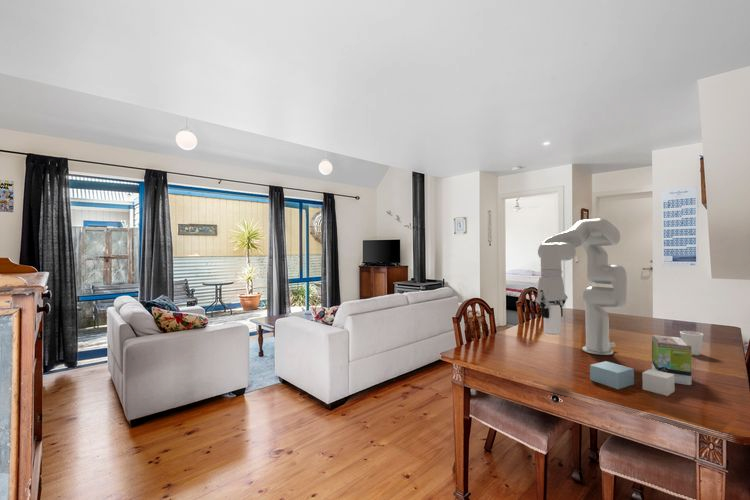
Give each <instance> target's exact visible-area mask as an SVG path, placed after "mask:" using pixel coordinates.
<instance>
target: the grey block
mask: <svg viewBox="0 0 750 500" xmlns="http://www.w3.org/2000/svg"><path fill="white" fill-rule="evenodd" d="M641 375H642V376H641V378H642V390H643V391H644V390H645V391H648V392H652V393H655V394H658V395H662V396H666V397H668V396H670V395H671V394H673V393H674V392H675V391H676V389H675V388H676V387H675V384H676V383H675V382H674V374H670V373H666V372H661V371H657V370H653V369H652V368H649V369H647V370H645V371H643V372H642V373H641Z"/></svg>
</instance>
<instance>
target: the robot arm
mask: <svg viewBox="0 0 750 500" xmlns="http://www.w3.org/2000/svg"><path fill="white" fill-rule="evenodd" d="M620 241H621V233H620V230H619V229H618V228H617V227H616V226H615V225H614V224H613V223H612V222H611V221H610V220H608V219H605V218H591V219H589V218H587V219H581V220H578V221H577V222H575V223H574V224H573V225H572V226H571V227H570V228H568V230H566V231H563V232H560V233H558V234H554V235H552V236H550V237H548V238H546V239H545V240H544V241H543V242H541V243H540V245H539V246H538V249H537V256H538V257H539V259H540V276H539V278H538V279H539V280H538V284H537V297H536V298H535V301H536V303H537V305H538V306H539V308H541V318H543V319H544V318H549V309H548V308H547V307H548V304H549V303H553V302H554V303H558V304H560V307H561V318H562V317H564V315H563V313H564V311H563V310H564V309H563V307H564V305H565V303H566V301H567V300H568V298H569V297H568V296H567V294H566V293H565V285H564V279H563V276H562V274H563V271H562V261H565V262H567V261H571V260H572V259H574V258H575V257H576V253H577V251H576V248H578V247H579V248H580V247H581V246H582V247H583V249H584V251H585V252H586V256H587V257H586V258H587V261H586V264H587V265H586V278H587V281H588V282H589V283H591V284H596V285H612V287H608V286H607V287H605V286H595V285H594V286H588V287H586V288H584V289H583V291H582V300H583V303H584V312H585V314H584V315H585V345H584V346H582V351H583V352H585V353H588V354H593V355H599V356H611V355H613V354H614V350H612V349H611V348H612V347H616V343H615V342H610V326H609V325H610V324H609V322H610V319H609V317H610V316H609V314H608V313H607V311H606V310H605V308H610V309H622V308H624V307H625V306H626V303H627V294H628V293H627V290H628V288H627V287H628V282H627V281H628V280H627V277H628V275H627V271H626V269H625V267H624V266H623V265H620V264H609V255H608V252H607V251H606V250H605V248H604V247H605V246H606V247H607V246H610V247H611V246H616V245H618V244H619V243H620ZM544 303H545V304H544Z"/></svg>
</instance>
